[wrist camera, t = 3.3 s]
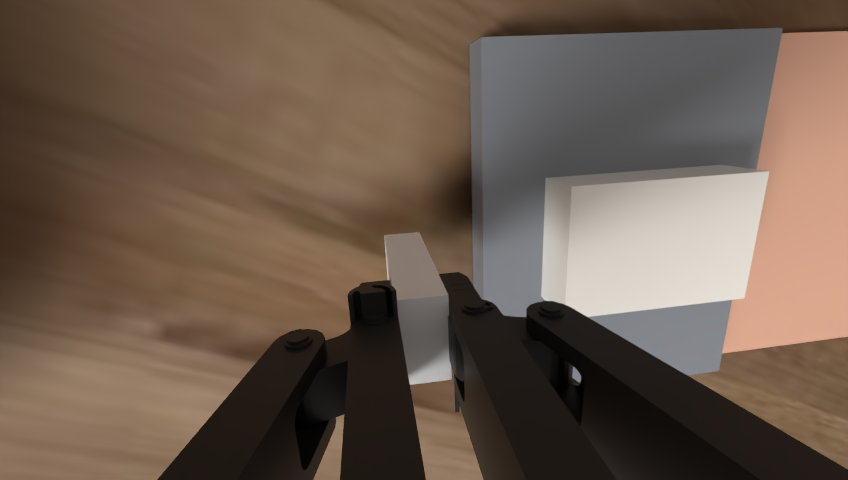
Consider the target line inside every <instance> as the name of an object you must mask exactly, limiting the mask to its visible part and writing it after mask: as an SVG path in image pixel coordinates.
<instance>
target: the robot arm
mask: <svg viewBox="0 0 848 480" xmlns="http://www.w3.org/2000/svg"><path fill="white" fill-rule="evenodd" d="M384 239H385V251H386V263H387V275H388V280H386V281H376V282H366V283H361V284H360V286H359V287H356V288H354V289H353V290H351V291H350V292H349V294H348V303H349V311H350V320H351V327H350V330H349V331H347V332H346V333H344V334H342V335H340V336H338V337H335V338H332V339H329V340H325V337H324V335H323V334H322V333H321V332H319V331H317V330H311V329H304V330H302V329H299V330H295V331H291V332H288V333H287V334H285V335H283V336H281V337H279V338H278V339H277V340H276V341H274V342H273V343H272V345H271V346H270V347H269V348H268V349H267V351H266V352H265V353H264V354H263V355H262V357H261V358H260V359H259V360H258V361H257V362H256V364H255V365H254V366H253V367H252V368H251V370H250V371H249V372H248V373H247V374H246V375H245V377H244V378H243V379H242V380H241V381H240V383H239V384H238V385H237V386H236V387H235V388H234V390H233V391H232V392H231V393H230V394H229V396H228V397H227V398H226V399H225V400H224V401H223V403H222V404H221V405H220V406H219V407H218V409H217V410H216V411H215V412H214V413H213V414H212V416H211V417H210V418H209V419H208V420H207V422H206V423H205V424H204V425H203V426H202V428H201V429H200V430H199V431H198V432H197V433H196V435H195V436H194V437H193V438H192V439H191V441H190V442H189V443H188V444H187V445H186V446H185V448H184V449H183V450H182V451H181V452H180V454H179V455H178V456H177V457H176V458H175V459H174V461H173V462H172V463H171V464H170V465H169V467H168V468H167V469H166V470H165V471H164V472H163V474H162V475H161V476H160V477H159V478H158V480H313V479H314V476H315V474H316V471H317V469H318V467H319V464H320V462H321V460H322V457H323V455H324V452H325V450H326V448H327V445H328V443H329V441H330V438H331V436H332V433H333V431H334V429H335V425H336V417H338V416H340V415H343V414H345V415H344V430H343V445H342V460H341V474H340V480H426V478H425V472H424V466H423V461H422V455H421V449H420V443H419V437H418V431H417V425H416V419H415V413H414V407H413V401H412V395H411V390H410V385H412V384H420V383H428V382H435V381H443V380H451V366H452V369H453V372H454V385H455V412H459V406H460V408H461V411H462V414H463V417H464V420H465V423H466V426H467V429H468V432H469V436H470V439H471V442H472V445H473V448H474V451H475V454H476V457H477V460H478V463H479V467H480V470H481V473H482V476H483V479H484V480H848V469H846V468H844V467H842V466H841V465H839V464H837V463H836V462H834V461H832V460H830V459H829V458H827V457H825V456H824V455H822V454H820V453H819V452H817V451H815V450H813V449H812V448H810V447H808V446H807V445H805V444H803V443H801V442H800V441H798V440H796V439H795V438H793V437H791V436H790V435H788V434H786V433H784V432H783V431H781V430H779V429H778V428H776V427H774V426H772V425H771V424H769V423H767V422H766V421H764V420H762V419H761V418H759V417H757V416H755V415H754V414H752V413H750V412H749V411H747V410H745V409H743V408H742V407H740V406H738V405H737V404H735V403H733V402H732V401H730V400H728V399H726V398H725V397H723V396H721V395H720V394H718V393H716V392H714V391H713V390H711V389H709V388H708V387H706V386H704V385H703V384H701V383H699V382H697V381H696V380H694V379H692V378H691V377H689V376H687V375H685V374H684V373H682V372H680V371H679V370H677V369H675V368H674V367H672V366H670V365H668V364H667V363H665V362H663V361H662V360H660V359H658V358H656V357H655V356H653V355H651V354H650V353H648V352H646V351H645V350H643V349H641V348H639V347H638V346H636V345H634V344H633V343H631V342H629V341H628V340H626V339H624V338H622V337H621V336H619V335H617V334H616V333H614V332H612V331H610V330H609V329H607V328H605V327H604V326H602V325H600V324H599V323H597V322H595V321H593V320H592V319H590V318H588V317H587V316H585V315H583V314H581V313H580V312H578V311H576V310H575V309H573V308H571V307H569V306H567V305H565V304H562V303H557V302H555V301H542V302H536V303H534V304H531V305H529V306H528V308H527V310H526V317H512V316H505V315H503V314H502V313H501V311H500V310H499V308H498V307H497V306H496V305H495V304H494V303H492V302H490V301H487V300H483V299H481V297H480V296H479V294H478V292H477V291H476V289H475V288H474V286H473V285H472V284H471V282H470V280H469V278H468V277H467V276H465V275H463V274H461V273H459V272H456V273H446V274H438V272H437V269H436V267H435V265H434V263H433V261H432V259H431V257H430V255H429V252H428V250H427V248H426V246H425V244H424V242H423V240H422V237H421V235H420V233H419V232H415V233H403V234H392V235H384ZM573 367H575V369H576V370H577V371H578V372H579V373H580V375H581V381H580V383H579V382H577V381H576V380H575V379H574V378H572V375H573Z"/></svg>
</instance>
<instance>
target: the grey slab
mask: <svg viewBox="0 0 848 480" xmlns="http://www.w3.org/2000/svg"><path fill="white" fill-rule="evenodd" d="M782 30H783V28H756V29H724V30H692V31H660V32H627V33H595V34H563V35H531V36H499V37H481V38H479V39H478V40H476V41H475V42H473V43H472V44H470V45H469V56H470V116H471V176H472V235H473V286H474V288H475V289H476V291H477V292H478V294H479V296H480V297H481V299H483V300H487V301H490V302H492V303H494V304H495V305H496V306H497V307H498V308H499V310H500V311H501V313H502V314H503V315H505V316H512V317H526V310H527V308H528V306H529V305H531V304H534V303H536V302H542V301H545V300H544V299H543V298H542V297H541V290H542V263H543V235H544V208H545V180H546V178H551V177H564V176H578V175H591V174H604V173H618V172H631V171H645V170H658V169H671V168H685V167H698V166H712V165H727V166H734V167H742V168H750V169H757V164H758V158H759V153H760V148H761V142H762V137H763V131H764V126H765V121H766V115H767V110H768V105H769V99H770V94H771V89H772V83H773V78H774V73H775V67H776V62H777V57H778V51H779V46H780V41H781V35H782ZM731 303H732V300H726V301H718V302H709V303H701V304H693V305H684V306H676V307H667V308H659V309H650V310H642V311H633V312H625V313H617V314H608V315H600V316H591V317H588V318H590V319H592V320H593V321H595V322H597V323H599V324H600V325H602V326H604V327H605V328H607V329H609V330H610V331H612V332H614V333H616V334H617V335H619V336H621V337H622V338H624V339H626V340H628V341H629V342H631V343H633V344H634V345H636V346H638V347H639V348H641V349H643V350H645V351H646V352H648V353H650V354H651V355H653V356H655V357H656V358H658V359H660V360H662V361H663V362H665V363H667V364H668V365H670V366H672V367H674V368H675V369H677V370H679V371H680V372H682V373H684V374H685V375H693V374H701V373H708V372H715V371H719V367H720V361H721V356H722V351H723V345H724V340H725V335H726V329H727V324H728V319H729V313H730V308H731ZM572 378H574V379H575V380H576V381H577V382H579V383H580V381H581V375H580V373H579V372H578V371H577V370H576V369H575V367H573V375H572Z"/></svg>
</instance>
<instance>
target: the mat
mask: <svg viewBox="0 0 848 480" xmlns="http://www.w3.org/2000/svg"><path fill="white" fill-rule="evenodd" d="M757 170H765V171H769V176H768V181H767V186H766V191H765V196H764V202H763V207H762V212H761V217H760V222H759V227H758V232H757V237H756V242H755V247H754V252H753V257H752V263H751V268H750V273H749V278H748V283H747V288H746V293H745V298H743V299H735V300H732V303H731V308H730V313H729V319H728V324H727V329H726V335H725V340H724V345H723V351H722V353H729V352H736V351H744V350H751V349H758V348H766V347H773V346H781V345H788V344H795V343H803V342H810V341H818V340H825V339H832V338H840V337H847V336H848V31H832V32H802V33H782V35H781V41H780V46H779V51H778V57H777V62H776V67H775V73H774V78H773V83H772V89H771V94H770V99H769V105H768V110H767V115H766V121H765V126H764V131H763V137H762V142H761V148H760V153H759V158H758V164H757Z"/></svg>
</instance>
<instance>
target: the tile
mask: <svg viewBox="0 0 848 480" xmlns="http://www.w3.org/2000/svg"><path fill="white" fill-rule="evenodd" d="M768 176H769V171H765V170H757V169H750V168H742V167H734V166H727V165H712V166H698V167H685V168H671V169H658V170H645V171H631V172H618V173H604V174H591V175H578V176H564V177H551V178H546V180H545V208H544V235H543V263H542V290H541V297H542V298H543V299H544V300H545V301H555V302H557V303H562V304H565V305H567V306H569V307H571V308H573V309H575V310H576V311H578V312H580V313H581V314H583V315H585V316H587V317H591V316H600V315H608V314H617V313H625V312H633V311H642V310H650V309H659V308H667V307H676V306H684V305H693V304H701V303H709V302H718V301H726V300H735V299H743V298H745V293H746V288H747V283H748V278H749V273H750V268H751V263H752V257H753V252H754V247H755V242H756V237H757V232H758V227H759V222H760V217H761V212H762V207H763V202H764V196H765V191H766V186H767V181H768Z"/></svg>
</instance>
